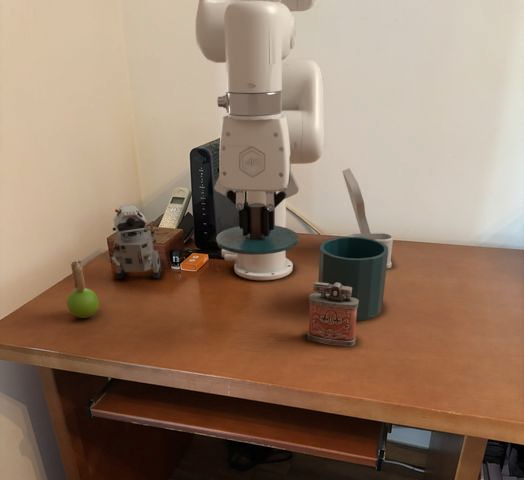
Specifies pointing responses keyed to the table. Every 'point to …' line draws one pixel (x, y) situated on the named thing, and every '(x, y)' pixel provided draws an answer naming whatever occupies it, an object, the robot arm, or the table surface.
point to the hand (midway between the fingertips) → (257, 232)
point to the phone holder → (360, 215)
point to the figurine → (134, 243)
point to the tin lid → (257, 236)
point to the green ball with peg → (81, 295)
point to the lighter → (332, 314)
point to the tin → (356, 270)
